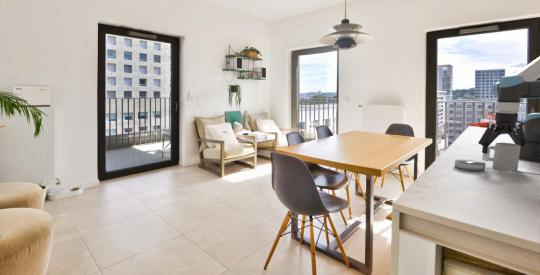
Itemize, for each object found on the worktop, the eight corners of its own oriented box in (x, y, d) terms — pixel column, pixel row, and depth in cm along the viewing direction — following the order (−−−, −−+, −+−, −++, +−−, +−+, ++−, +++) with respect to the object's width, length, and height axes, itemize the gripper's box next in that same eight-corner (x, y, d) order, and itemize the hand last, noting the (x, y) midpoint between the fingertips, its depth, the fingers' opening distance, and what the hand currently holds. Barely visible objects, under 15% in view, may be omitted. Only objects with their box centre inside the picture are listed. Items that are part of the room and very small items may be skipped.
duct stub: (471, 165, 131) (472, 158, 130) (491, 172, 120) (492, 165, 119) (448, 165, 130) (449, 159, 130) (466, 172, 119) (467, 165, 119)
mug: (520, 169, 123) (523, 144, 121) (513, 172, 118) (517, 147, 117) (487, 163, 133) (489, 140, 131) (480, 166, 128) (482, 142, 126)
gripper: (526, 111, 126) (519, 158, 129) (472, 111, 125) (466, 158, 128) (543, 113, 118) (535, 162, 122) (486, 113, 117) (479, 162, 121)
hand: (500, 160), depth 125 cm, fingers open, 13 cm apart
